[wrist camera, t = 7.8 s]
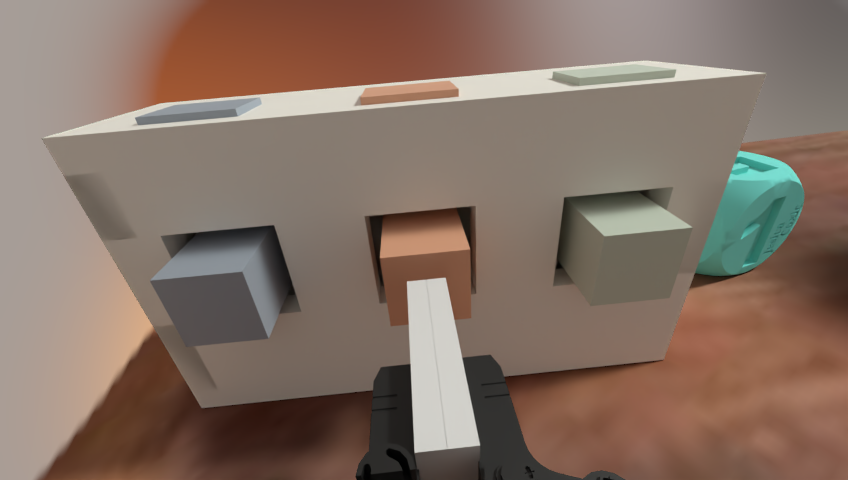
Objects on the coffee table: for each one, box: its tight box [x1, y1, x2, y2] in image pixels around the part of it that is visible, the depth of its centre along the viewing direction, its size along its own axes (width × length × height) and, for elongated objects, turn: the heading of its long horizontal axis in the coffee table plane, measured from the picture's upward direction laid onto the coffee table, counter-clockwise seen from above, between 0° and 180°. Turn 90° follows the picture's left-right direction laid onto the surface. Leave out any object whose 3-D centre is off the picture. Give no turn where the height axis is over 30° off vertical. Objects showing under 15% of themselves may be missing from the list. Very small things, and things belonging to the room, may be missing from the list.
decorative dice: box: [695, 151, 804, 276], centre depth 30 cm, size 8×8×8 cm
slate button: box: [150, 225, 292, 347], centre depth 17 cm, size 4×5×4 cm
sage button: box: [557, 191, 693, 306], centre depth 18 cm, size 4×5×4 cm
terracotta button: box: [380, 208, 471, 326], centre depth 17 cm, size 4×5×4 cm
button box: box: [42, 61, 766, 408], centre depth 21 cm, size 28×8×16 cm, turn 94°
